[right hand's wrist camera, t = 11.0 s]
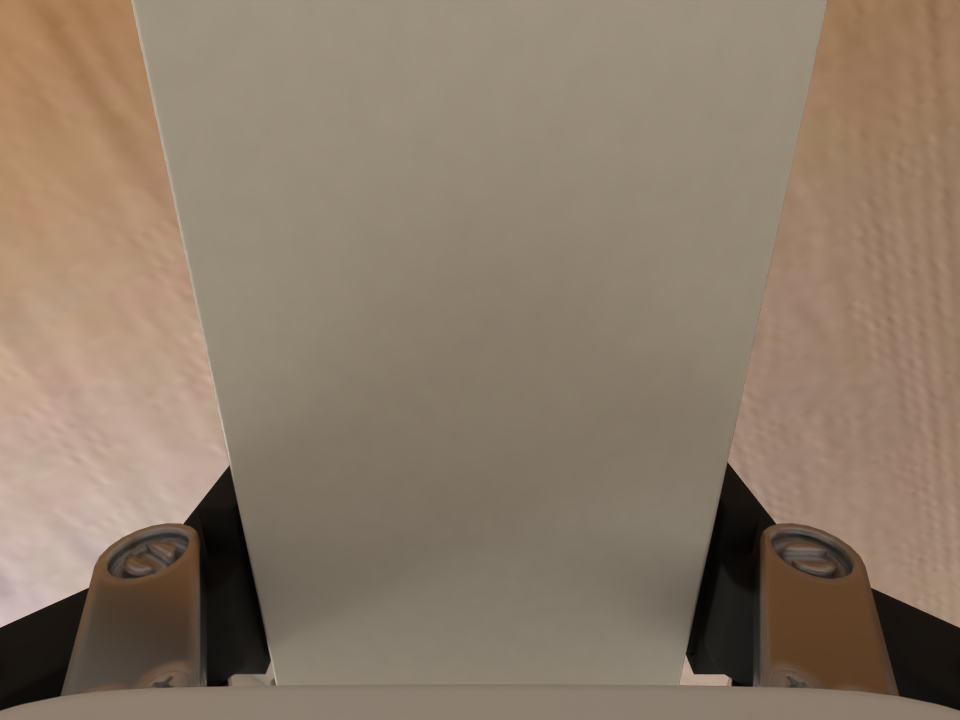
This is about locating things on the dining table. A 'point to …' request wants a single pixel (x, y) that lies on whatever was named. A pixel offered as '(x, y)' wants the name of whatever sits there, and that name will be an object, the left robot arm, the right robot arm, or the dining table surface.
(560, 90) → the bar
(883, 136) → the dining table surface
